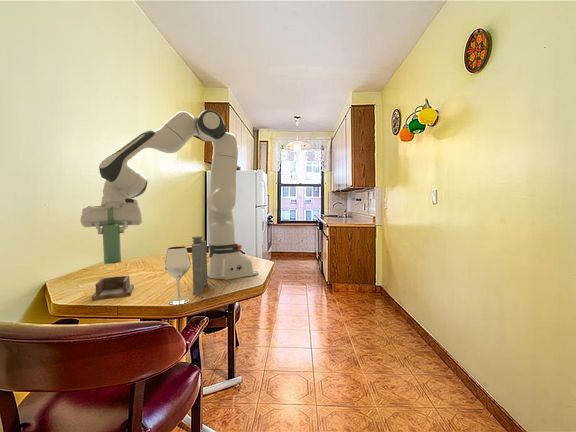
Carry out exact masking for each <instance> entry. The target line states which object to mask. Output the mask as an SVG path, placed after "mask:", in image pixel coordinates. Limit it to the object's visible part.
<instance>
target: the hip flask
mask: <svg viewBox="0 0 576 432" xmlns="http://www.w3.org/2000/svg"><path fill="white" fill-rule="evenodd" d="M191 239H192V242H193V243H191V261H192V265H191V266H192V288H193V295H196V294H197V295H202V294H203V290H204V288H205V287H206V286H207V285H208V284H209V281H208V280H209V277H208V275H207V274H208V251H207V240H202V239H203V236H192V238H191ZM205 285H206V286H205ZM204 286H205V287H204ZM201 293H202V294H201Z"/></svg>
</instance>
